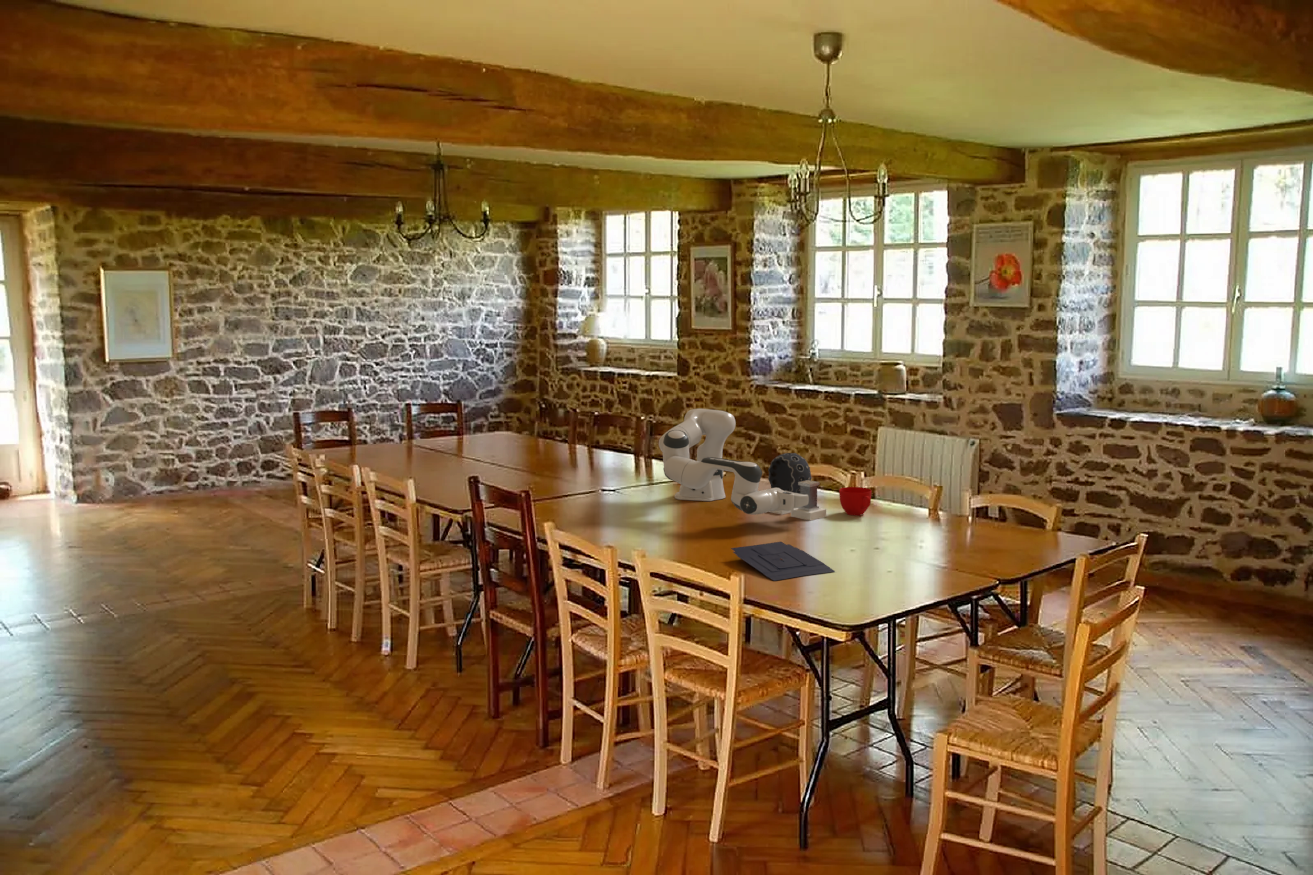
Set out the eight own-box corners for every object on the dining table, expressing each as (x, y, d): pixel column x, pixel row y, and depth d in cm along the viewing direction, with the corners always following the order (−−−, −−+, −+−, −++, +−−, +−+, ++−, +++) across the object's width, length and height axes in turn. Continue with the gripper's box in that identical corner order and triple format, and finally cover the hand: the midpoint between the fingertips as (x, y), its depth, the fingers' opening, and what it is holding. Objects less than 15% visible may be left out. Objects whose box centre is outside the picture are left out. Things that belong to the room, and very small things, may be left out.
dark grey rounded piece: (785, 493, 472) (785, 449, 469) (813, 501, 455) (814, 455, 452) (765, 495, 466) (766, 451, 463) (793, 503, 449) (794, 457, 446)
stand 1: (782, 514, 428) (782, 507, 428) (763, 510, 435) (763, 503, 435) (797, 510, 435) (797, 503, 435) (779, 507, 442) (779, 500, 442)
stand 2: (810, 520, 417) (810, 513, 417) (790, 516, 424) (791, 509, 424) (826, 516, 424) (826, 509, 424) (806, 512, 431) (806, 505, 431)
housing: (809, 511, 420) (810, 484, 418) (797, 509, 424) (798, 482, 422) (819, 509, 424) (819, 482, 422) (807, 507, 428) (807, 480, 426)
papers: (785, 548, 369) (785, 538, 368) (835, 579, 343) (836, 568, 343) (725, 556, 359) (725, 546, 358) (772, 589, 333) (773, 578, 332)
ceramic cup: (855, 520, 417) (855, 495, 415) (832, 512, 432) (833, 488, 431) (882, 517, 422) (883, 493, 420) (859, 509, 437) (860, 485, 436)
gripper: (754, 503, 416) (777, 498, 425) (794, 511, 401) (817, 506, 410) (754, 487, 415) (777, 483, 424) (794, 495, 400) (817, 490, 409)
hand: (797, 494), depth 417 cm, fingers open, 8 cm apart
